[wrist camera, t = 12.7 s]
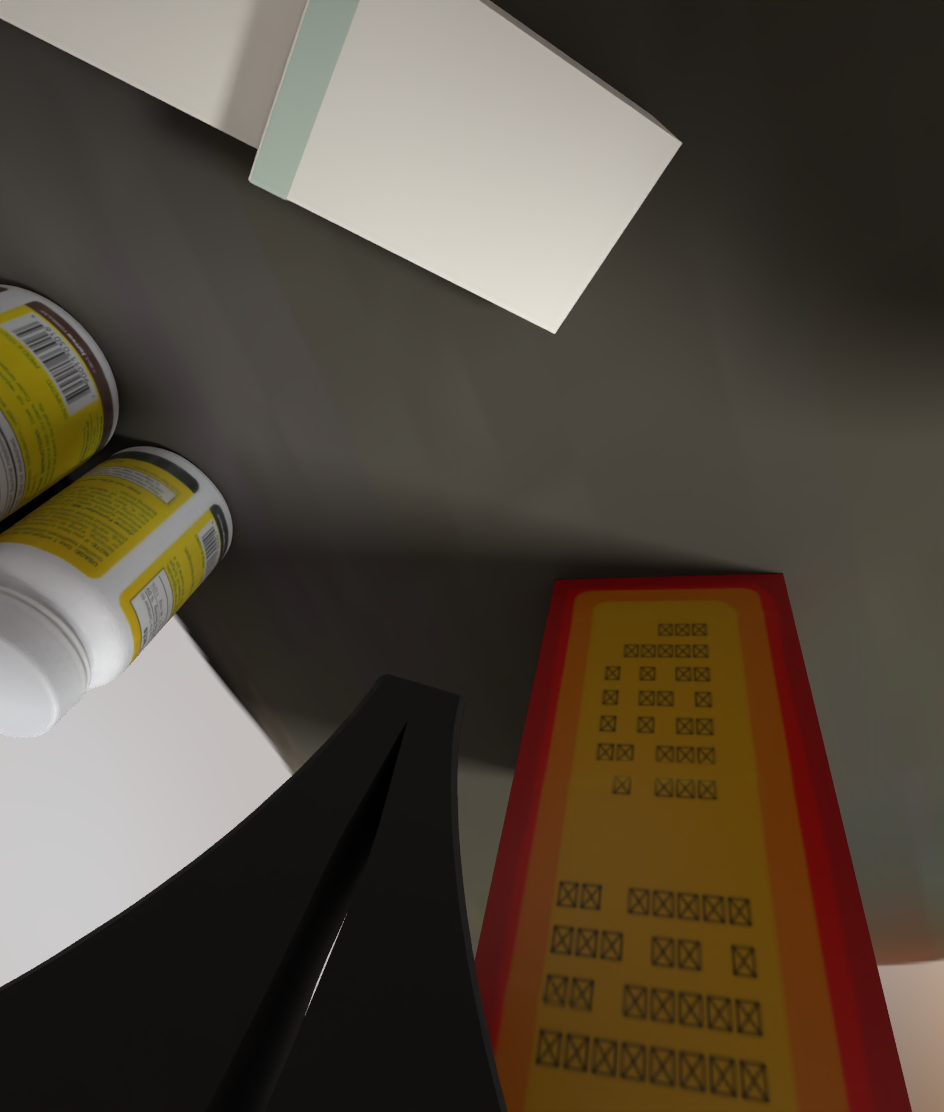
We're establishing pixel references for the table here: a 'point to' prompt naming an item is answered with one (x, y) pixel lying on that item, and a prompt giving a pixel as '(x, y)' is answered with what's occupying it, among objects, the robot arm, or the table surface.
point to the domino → (178, 50)
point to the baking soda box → (679, 870)
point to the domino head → (460, 146)
